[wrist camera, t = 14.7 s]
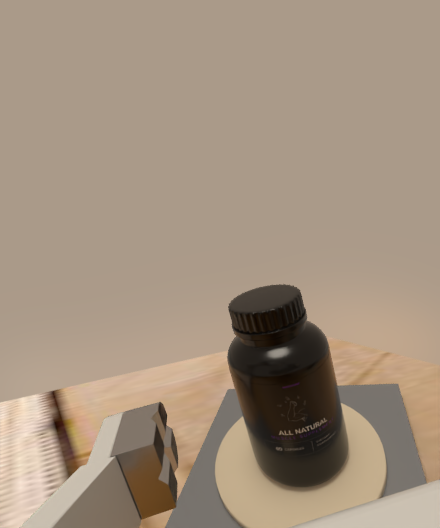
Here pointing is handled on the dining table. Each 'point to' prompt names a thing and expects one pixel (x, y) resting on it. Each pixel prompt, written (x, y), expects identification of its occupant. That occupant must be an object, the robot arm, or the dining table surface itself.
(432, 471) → the dining table surface
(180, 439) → the dining table surface
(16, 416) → the dining table surface
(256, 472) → the slate board
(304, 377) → the supplement bottle
